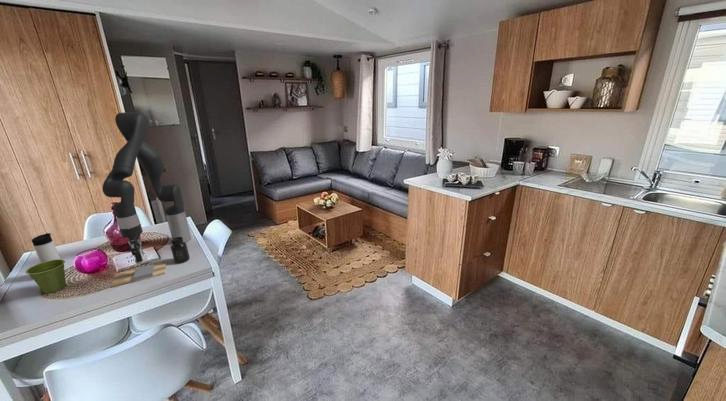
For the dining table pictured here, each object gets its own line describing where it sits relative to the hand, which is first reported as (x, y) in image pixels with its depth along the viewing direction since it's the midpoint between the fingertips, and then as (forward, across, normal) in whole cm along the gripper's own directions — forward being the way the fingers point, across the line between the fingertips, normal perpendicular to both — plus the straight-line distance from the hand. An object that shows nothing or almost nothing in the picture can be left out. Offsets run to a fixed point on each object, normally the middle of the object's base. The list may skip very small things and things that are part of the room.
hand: (140, 259), depth 135 cm
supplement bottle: (+8, -6, +15) cm, 18 cm away
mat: (+8, -1, -2) cm, 9 cm away
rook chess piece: (+2, 0, 0) cm, 2 cm away
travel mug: (+8, -24, -37) cm, 45 cm away
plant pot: (+8, -9, -33) cm, 36 cm away
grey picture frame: (+7, 0, 0) cm, 7 cm away
